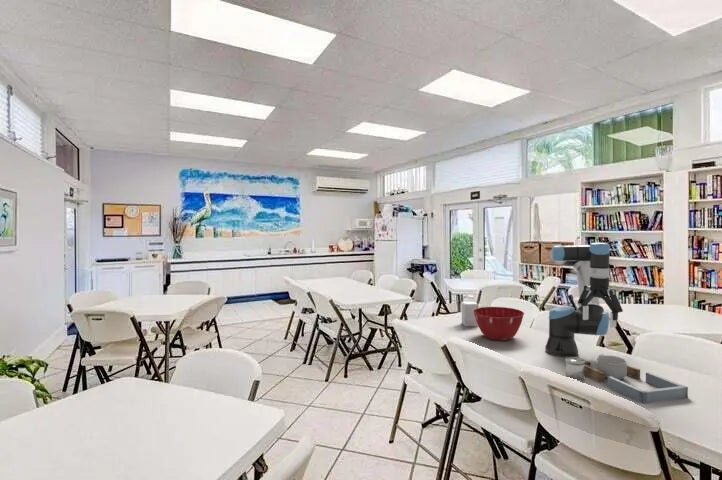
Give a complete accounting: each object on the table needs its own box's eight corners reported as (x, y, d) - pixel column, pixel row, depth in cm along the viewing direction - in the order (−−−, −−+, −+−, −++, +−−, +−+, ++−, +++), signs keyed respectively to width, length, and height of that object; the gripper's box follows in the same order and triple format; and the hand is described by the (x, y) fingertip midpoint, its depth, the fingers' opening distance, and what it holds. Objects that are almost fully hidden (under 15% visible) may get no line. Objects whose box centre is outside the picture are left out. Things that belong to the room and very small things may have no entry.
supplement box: (478, 326, 252) (478, 303, 252) (464, 326, 252) (464, 304, 252) (474, 323, 261) (474, 301, 261) (461, 323, 262) (461, 301, 261)
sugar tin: (561, 375, 168) (561, 357, 168) (575, 373, 169) (575, 356, 169) (573, 382, 161) (573, 363, 160) (589, 380, 162) (589, 362, 162)
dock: (607, 386, 155) (607, 376, 155) (648, 381, 159) (648, 372, 159) (643, 403, 140) (643, 392, 140) (687, 397, 144) (687, 387, 144)
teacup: (632, 383, 158) (632, 364, 158) (603, 381, 160) (603, 362, 160) (616, 370, 172) (616, 353, 172) (590, 369, 174) (590, 352, 174)
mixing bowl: (493, 346, 209) (493, 318, 209) (463, 333, 236) (463, 308, 236) (535, 341, 218) (535, 314, 217) (502, 329, 245) (501, 305, 245)
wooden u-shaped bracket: (576, 370, 173) (576, 362, 172) (612, 367, 176) (612, 358, 176) (601, 383, 159) (601, 373, 159) (640, 378, 163) (640, 369, 163)
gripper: (569, 274, 184) (569, 317, 185) (620, 281, 160) (619, 331, 161) (581, 272, 186) (580, 315, 187) (632, 280, 163) (632, 329, 164)
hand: (598, 323), depth 174 cm, fingers open, 13 cm apart
